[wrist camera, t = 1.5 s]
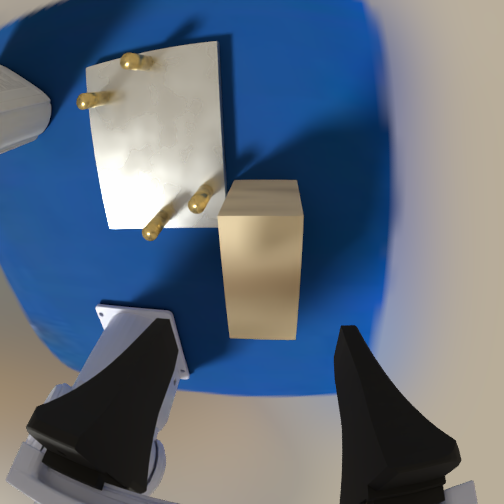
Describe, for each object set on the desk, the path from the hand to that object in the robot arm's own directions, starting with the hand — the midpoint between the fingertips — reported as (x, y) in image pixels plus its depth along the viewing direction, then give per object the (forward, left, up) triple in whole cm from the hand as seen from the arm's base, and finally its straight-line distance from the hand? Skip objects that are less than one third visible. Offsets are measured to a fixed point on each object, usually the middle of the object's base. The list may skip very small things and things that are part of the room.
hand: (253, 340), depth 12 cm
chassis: (+7, +7, -10) cm, 14 cm away
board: (0, 0, -10) cm, 10 cm away
